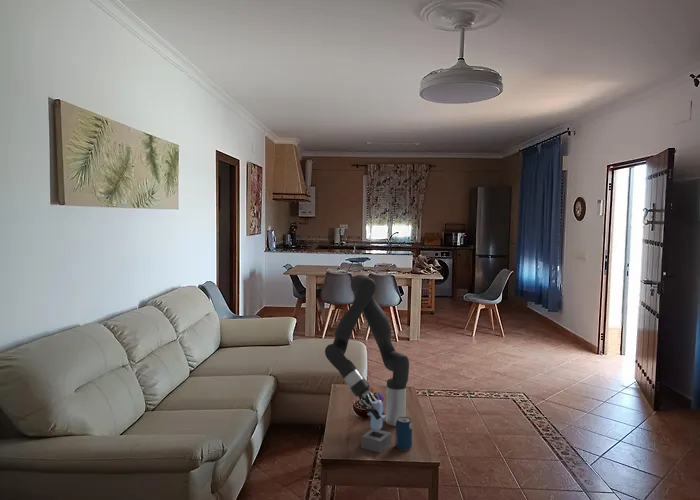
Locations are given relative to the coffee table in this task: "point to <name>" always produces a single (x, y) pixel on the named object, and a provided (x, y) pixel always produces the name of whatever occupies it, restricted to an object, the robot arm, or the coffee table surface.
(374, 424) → the block
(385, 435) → the grey block with hole
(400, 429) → the soda can
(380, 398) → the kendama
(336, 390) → the coffee table surface
